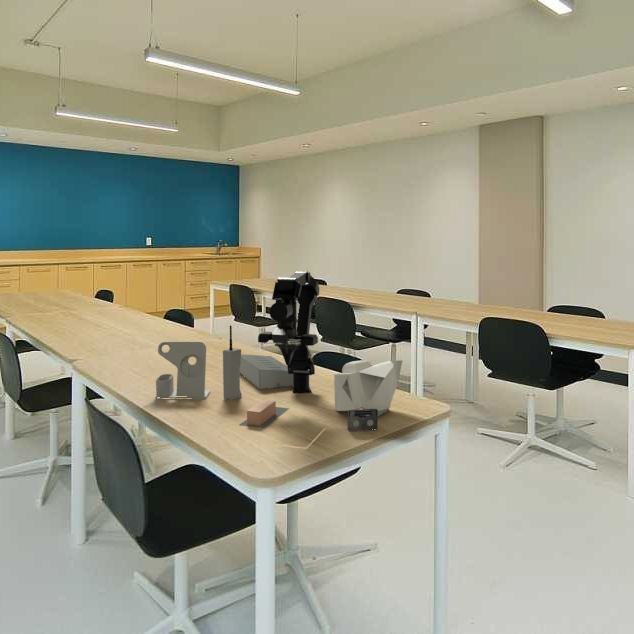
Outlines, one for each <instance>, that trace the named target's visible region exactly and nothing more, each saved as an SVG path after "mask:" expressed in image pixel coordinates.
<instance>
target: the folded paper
mask: <svg viewBox="0 0 634 634" xmlns="http://www.w3.org/2000/svg"><path fill="white" fill-rule="evenodd" d="M402 364H403V360H387V361H384V362H381V363H377V364H374V365H373V364H372V363H371V362H370V361H368V360H366V359H365V360H364V359H363V360H353V361H350V362H347V363H345V364H344V365H343V366H342V369H341V372H342V373H337V374H334V375H333V377H334V378H333V379H334V410H335V411H337V412H348V410H359V409H377V410H378V416H379V417H380V415H381V416H382V415H383V413H384V412H385V413H387V412H388V411H390V408H391V403H392V401H393V399H394V395H395V393H396V390H397V387H398V384H399V380H400V374H401V371H402ZM387 410H388V411H387ZM385 413H384V414H385Z"/></svg>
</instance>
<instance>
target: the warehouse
mask: <svg viewBox="0 0 634 634" xmlns="http://www.w3.org/2000/svg"><path fill="white" fill-rule="evenodd" d="M240 373H241V374H242V375H243V376H242V375H241V374H240V375H241V376H242V377H244V376H245V377H246V378H247V379H248V381H249V382H250V383H251V382H252V385H253V386H255V387H256V388H258V389H259V390H266V389H265V388H267V389H274V388H273V387H277V388H282V387H281V386H287V387H292V386H291V385H293V374H288V367H287V365H286V363H283V362H281V361H280V360H278V359H277V358H274V357H273V356H271V355H262V354H261V355H259V354H245V353H244V354H242V353H241V364H240ZM245 377H244V378H245ZM246 378H245V379H246ZM247 379H246V380H247Z"/></svg>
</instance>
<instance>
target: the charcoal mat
mask: <svg viewBox="0 0 634 634" xmlns="http://www.w3.org/2000/svg"><path fill="white" fill-rule="evenodd" d="M288 410H290V408H289V407H279V406H276V414H275V415H273V416H272V417H271V418H269V419H268V420H267V421H265V422H264V423H263V424H261V425H260V426H259V425H250V424H247V419H246V420H243V422H241V423H240V424H239V426H243V427H250V428H251V427H252V428H260V429H265V428H267V427H268V426H269V425H270V424H272V423H273V422H274V421H276V420H277V419H278V418H279V417H281V416H282V415H284V414H285V412H287V411H288Z"/></svg>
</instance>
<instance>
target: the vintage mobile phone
mask: <svg viewBox="0 0 634 634" xmlns="http://www.w3.org/2000/svg"><path fill="white" fill-rule="evenodd" d="M232 331H233V330H232V325H229V348H228V349H224V350H222V369H223V370H222V373H223V376H222V377H223V378H222V379H223V381H222V382H223V383H222V386H223V387H222V388H223V391H222V393H223V400H229V401H233V400H236V399H240V398H241V397H243V396H242V395H243V394H242V391H241V388H240V386H241V383H240V382H241V380H240V379H241V378H240V375H241V374H240V364H241V354H242V349H241V348H235V347H233V339H232V338H233V337H232V336H233V335H232V334H233V333H232Z"/></svg>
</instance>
